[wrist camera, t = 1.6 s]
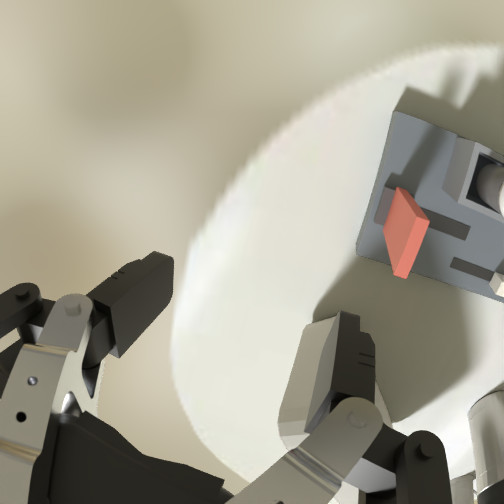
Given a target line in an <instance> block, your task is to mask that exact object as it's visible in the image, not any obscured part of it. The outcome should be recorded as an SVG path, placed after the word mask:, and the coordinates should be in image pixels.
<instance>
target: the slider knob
mask: <svg viewBox="0 0 504 504" xmlns="http://www.w3.org/2000/svg"><path fill="white" fill-rule="evenodd" d="M489 285H490V286H491V288H492V289H493V291H494V293H495V294H496V295H499V296H502V297H504V275H502V274H499V273H497V272H495V273H494V275H493V277H492V279H491V281H490V283H489Z"/></svg>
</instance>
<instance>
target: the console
mask: <svg viewBox="0 0 504 504" xmlns="http://www.w3.org/2000/svg"><path fill="white" fill-rule="evenodd" d="M488 164H496V165H498V166H501V167H503V168H504V156H503V155H501V154H499V153H497V152H495V151H493V150H492V149H490V148H488V147H486V146H484V145H482V144H480V143H478V142H476V141H471V140H468V139H466V138H464V137H462V136H460V135H457V134H455V133H453V132H451V131H448V130H446V129H443V128H441V127H439V126H436V125H434V124H431V123H429V122H426V121H424V120H421V119H418V118H416V117H413V116H410V115H407V114H404V113H402V112H399V111H395V112H393V113H392V118H391V122H390V126H389V131H388V135H387V139H386V143H385V147H384V151H383V155H382V159H381V162H380V166H379V170H378V173H377V177H376V180H375V184H374V187H373V191H372V194H371V198H370V201H369V204H368V208H367V211H366V214H365V217H364V220H363V223H362V227H361V230H360V233H359V236H358V239H357V242H356V255H360V256H363V257H366V258H369V259H373V260H376V261H379V262H382V263H385V264H388V265H391V261H390V257H389V253H388V248H387V244H386V240H385V237H384V233H383V228H384V226H382V225H379V224H376V223H374V217H375V214H376V211H377V208H378V204H379V201H380V198H381V195H382V191H383V188H384V185H386V186H389V187H392V188H395V189H396V187H400V188H403V189H405V190H407V191H408V192H409V194H412V195H413V196H414V197H415V198H414V200H415V202H416V203H417V204H418V206H419V207H420V208H421V210H422V211H423V212H424V214H425V215H426V217H427V218H428V219H429V221H430V222H429V225H428V228H427V230H426V233H425V236H424V238H423V241H422V243H421V246H420V248H419V251H418V253H417V256H416V258H415V260H414V263H413V265H412V267H411V270H410V271H411V272H414V273H417V274H420V275H423V276H426V277H429V278H432V279H435V280H438V281H441V282H444V283H447V284H450V285H453V286H456V287H459V288H462V289H465V290H468V291H471V292H474V293H477V294H480V295H483V296H486V297H488V298H491V299H494V300H497V301H500V302H503V303H504V297H502V296H499V295H496V294H495V293H494V291H493V289H492V288H491V286H490V285H489V283H490V281H491V279H492V277H493V275H494V273H495V272H497V273H499V274H502V275H504V217H503V216H502V215H501V214H500V213H499V212H497V211H496V210H495V209H494V208H492V207H491V206H490V205H488V204H487V203H485V202H484V201H483V200H482V199H481V198H480V196H479V195H478V192H477V188H476V180H477V176H478V174H479V172H480V170H481V169H482V168H483V167H484V166H486V165H488Z"/></svg>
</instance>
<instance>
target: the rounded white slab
mask: <svg viewBox="0 0 504 504" xmlns="http://www.w3.org/2000/svg"><path fill="white" fill-rule="evenodd" d="M335 318H336V316H335V317H332V318H329V319H325V320H322V321H318V322H315V323H311V324H308V325H306V327H305V328H304V330H303V333H302V336H301V340H300V344H299V347H298V351H297V354H296V358H295V361H294V365H293V368H292V371H291V375H290V378H289V381H288V385H287V388H286V391H285V394H284V397H283V401H282V404H281V407H280V410H279V416H278V430H279V436H280V438H281V440H282V442H283V444H284V446H285V447H286V449H287V450H288V451H290V450H291V449H295V448H296V447H297V446H298V445H299V444H300V443H301V442H303V441H304V440H305V439H306V438H307V437H308V436H309V435H310V434H309V433H305V432H304V428H305V424H306V420H307V416H308V412H309V407H310V403H311V399H312V394H313V389H314V385H315V380H316V375H317V370H318V366H319V360H320V356H321V352H322V349H323V346H324V344H325V341H326V339H327V337H328V334H329V332H330V330H331V327H332V325H333V323H334V320H335ZM375 406H376V407H377V408H378V409H379V411H380V413H381V415H382V419H383V422H384V423H385V424H386V425H387V426H389V427H390V428H392V429H393V427H392V422H391V418H390V416H389V413H388V410H387V408H386V405H385V403H384V400H383V397H382V395H381V392H380V390H379V387H378V385H377V382H376V380H375ZM341 484H342V486H341V488H340V489H339V491H338V492H337V493H336V494H335V496H334V497H333V498H334V499H335V500H336V501H337V502H338V503H339V504H358V490H359V489H358V488H356V487H354V486H352V485H350V484H348V483H346V482H344V481H343V482H342V483H341Z"/></svg>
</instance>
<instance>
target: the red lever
mask: <svg viewBox="0 0 504 504" xmlns="http://www.w3.org/2000/svg"><path fill="white" fill-rule="evenodd" d="M414 198H415V197H414V196H413V195H412V194H409V192H408V191H407V190H405V189H403V188H400V187H396V189H395V188H392V187H389V186H386V185H384V188H383V191H382V195H381V198H380V201H379V204H378V208H377V211H376V214H375V217H374V223H376V224H379V225H382V226H384V228H383V233H384V237H385V240H386V244H387V248H388V253H389V257H390V261H391V265H392V270H393V274H394V275H395V276H398V277H401V278H404V279H407V276H408V274H409V272H410V270H411V267H412V265H413V263H414V260H415V258H416V256H417V253H418V251H419V248H420V246H421V243H422V241H423V238H424V236H425V233H426V230H427V228H428V225H429V222H430V221H429V219H428V218H427V217H426V215H425V214H424V212H423V211H422V210H421V208H420V207H419V206H418V204H417V203H416V202H415V200H414Z"/></svg>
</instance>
